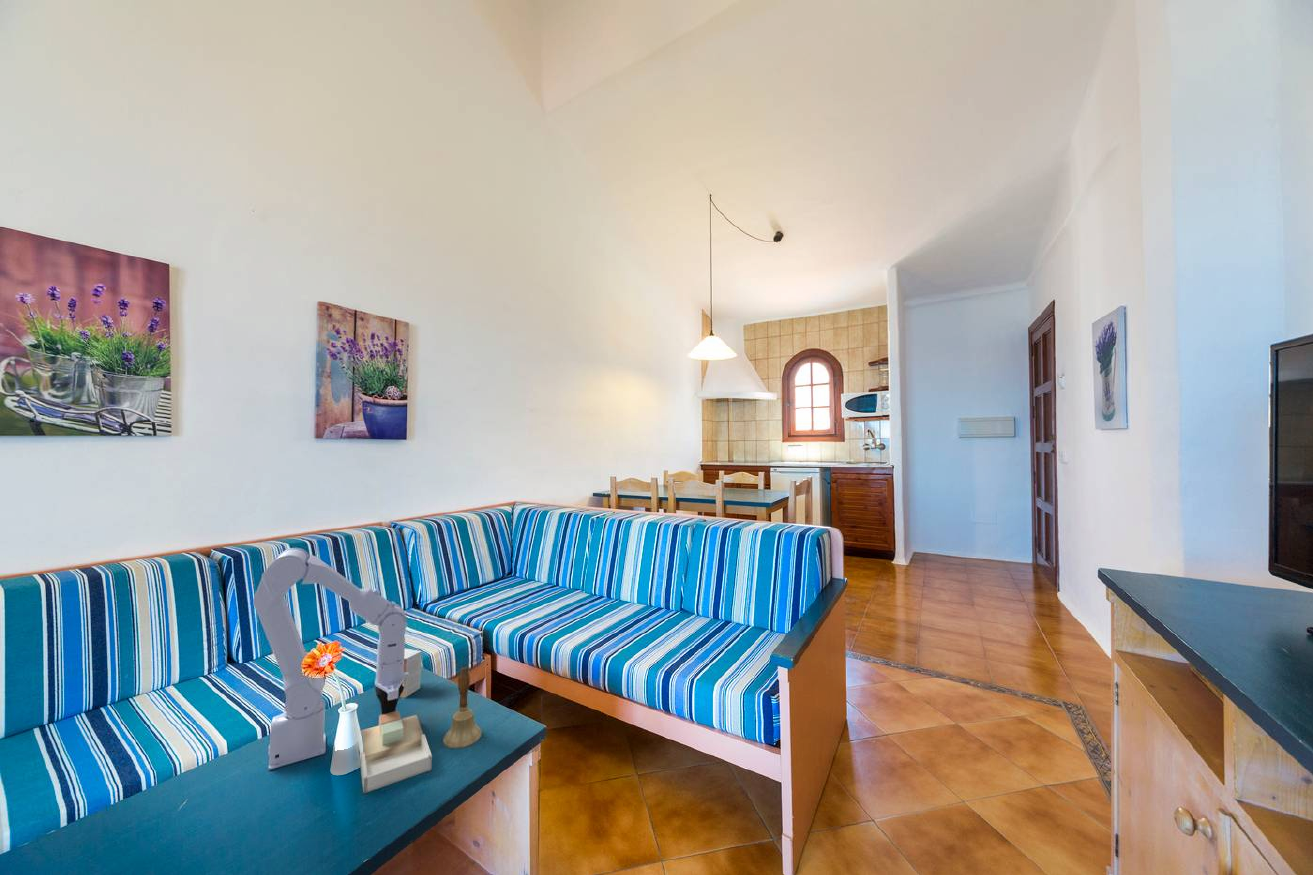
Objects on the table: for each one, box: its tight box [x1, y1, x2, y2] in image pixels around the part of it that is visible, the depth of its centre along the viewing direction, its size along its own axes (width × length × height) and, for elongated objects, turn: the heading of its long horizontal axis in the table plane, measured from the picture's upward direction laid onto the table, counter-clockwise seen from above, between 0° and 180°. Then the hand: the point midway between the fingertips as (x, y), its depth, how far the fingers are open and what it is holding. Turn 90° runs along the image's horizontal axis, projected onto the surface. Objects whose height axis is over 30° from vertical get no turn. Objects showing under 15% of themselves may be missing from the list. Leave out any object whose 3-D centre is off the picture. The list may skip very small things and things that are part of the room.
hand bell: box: [442, 666, 483, 749], centre depth 106 cm, size 8×8×16 cm
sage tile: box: [381, 720, 404, 746], centre depth 102 cm, size 4×4×2 cm
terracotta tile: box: [378, 710, 402, 735], centre depth 106 cm, size 4×4×2 cm
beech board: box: [360, 714, 424, 763], centre depth 103 cm, size 12×11×2 cm
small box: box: [399, 647, 423, 699], centre depth 126 cm, size 8×6×10 cm
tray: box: [360, 733, 433, 794], centre depth 95 cm, size 12×9×3 cm
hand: (388, 717), depth 109 cm, fingers closed
